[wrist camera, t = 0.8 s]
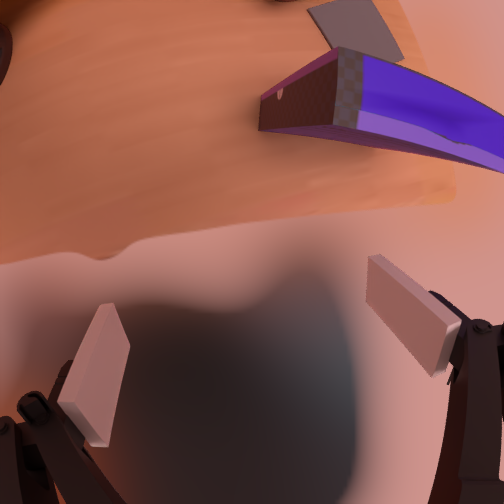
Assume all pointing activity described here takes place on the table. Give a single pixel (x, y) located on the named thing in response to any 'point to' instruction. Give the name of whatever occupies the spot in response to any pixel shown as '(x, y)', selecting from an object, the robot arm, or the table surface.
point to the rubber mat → (356, 28)
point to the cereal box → (384, 110)
